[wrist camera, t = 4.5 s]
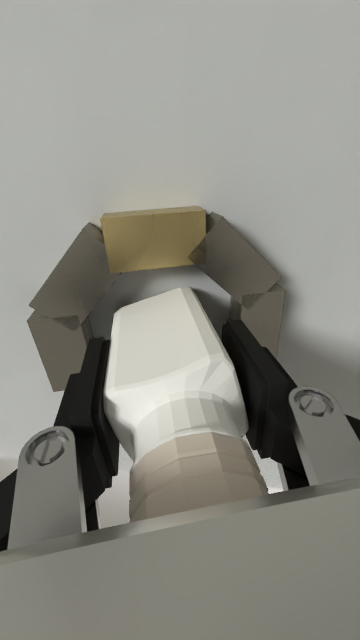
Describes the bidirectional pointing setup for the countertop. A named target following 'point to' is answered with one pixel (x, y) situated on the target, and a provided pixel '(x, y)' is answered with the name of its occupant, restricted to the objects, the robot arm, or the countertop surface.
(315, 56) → the countertop surface
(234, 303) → the collar
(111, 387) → the salt shaker
